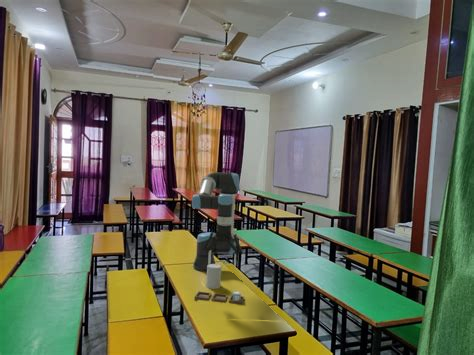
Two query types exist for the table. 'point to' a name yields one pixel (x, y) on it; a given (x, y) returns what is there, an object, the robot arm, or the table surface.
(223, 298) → the tray
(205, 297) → the tray
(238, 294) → the letter cube
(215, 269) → the cup
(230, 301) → the tray
